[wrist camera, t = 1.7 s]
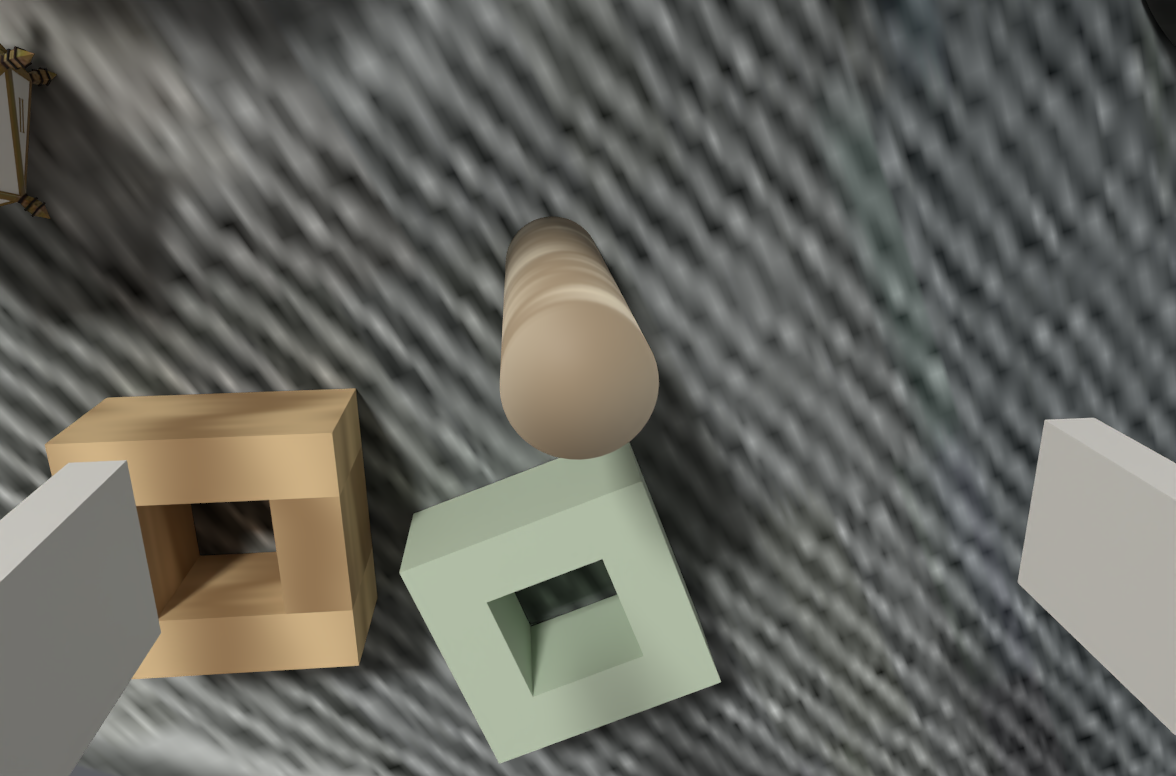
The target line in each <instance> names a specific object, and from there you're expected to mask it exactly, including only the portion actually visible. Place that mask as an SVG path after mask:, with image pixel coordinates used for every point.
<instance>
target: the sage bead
mask: <svg viewBox="0 0 1176 776" xmlns="http://www.w3.org/2000/svg"><path fill="white" fill-rule="evenodd" d="M601 559H603V562H604V564H605V566H606V569H607V571H608V573H609V576H610V578H611V581H612V583H613V585H614V588H615V590H616V592H617V595H614V596H612V597H609V598H606V599H604V600H601V601H598V602H596V603H593V604H590V605H588V606H585V607H582V608H580V609H577V610H574V611H572V612H569V613H566V614H564V615H561V616H558V617H556V618H553V619H550V620H548V621H545V622H542V623H540V624H537V625H534V626H530V624H529V622H528V620H527V618H526V616H525V614H524V611H523V609H522V607H521V605H520V603H519V601H518V599H517V597H516V595H515V593H514V592H516V591H519V590H521V589H524V588H527V587H529V586H532V585H535V584H537V583H540V582H543V581H545V580H548V579H551V578H553V577H556V576H559V575H561V574H564V573H567V572H569V571H572V570H575V569H577V568H580V567H583V566H585V565H588V564H591V563H593V562H596V561H599V560H601ZM399 573H400V575H401V577H402V579H403V581H404V583H405V585H406V587H407V589H408V591H409V592H410V594H411V596H412V598H413V600H414V602H415V604H416V606H417V608H418V610H419V611H420V613H421V615H422V617H423V619H424V621H425V623H426V625H427V627H428V629H429V631H430V632H431V634H432V636H433V638H434V640H435V642H436V644H437V646H438V648H439V650H440V651H441V653H442V655H443V657H444V659H445V661H446V663H447V665H448V667H449V669H450V671H451V672H452V674H453V676H454V678H455V680H456V682H457V684H458V686H459V688H460V690H461V691H462V693H463V695H464V697H465V699H466V701H467V703H468V705H469V707H470V709H471V711H472V712H473V714H474V716H475V718H476V720H477V722H478V724H479V726H480V728H481V730H482V731H483V733H484V735H485V737H486V739H487V741H488V743H489V745H490V747H491V749H492V751H493V752H494V754H495V756H496V758H497V760H498V762H499V764H500V763H502V762H505V761H508V760H511V759H513V758H516V757H519V756H521V755H524V754H527V753H530V752H532V751H535V750H538V749H541V748H543V747H546V746H549V745H551V744H554V743H557V742H560V741H562V740H565V739H568V738H571V737H573V736H576V735H579V734H581V733H584V732H587V731H590V730H592V729H595V728H598V727H600V726H603V725H606V724H609V723H611V722H614V721H617V720H620V719H622V718H625V717H628V716H630V715H633V714H636V713H639V712H641V711H644V710H647V709H650V708H652V707H655V706H658V705H660V704H663V703H666V702H669V701H671V700H674V699H677V698H679V697H682V696H685V695H688V694H690V693H693V692H696V691H699V690H701V689H704V688H707V687H709V686H712V685H715V684H718V683H720V682H721V680H720V677H719V675H718V672H717V669H716V666H715V663H714V660H713V657H712V655H711V652H710V649H709V646H708V643H707V640H706V637H705V635H704V632H703V629H702V626H701V623H700V620H699V617H698V615H697V612H696V610H695V607H694V604H693V602H692V599H691V597H690V594H689V592H688V589H687V587H686V584H685V582H684V579H683V577H682V574H681V571H680V569H679V566H678V564H677V561H676V559H675V556H674V554H673V551H672V549H671V546H670V544H669V541H668V538H667V536H666V533H665V531H664V528H663V526H662V523H661V521H660V518H659V516H658V513H657V511H656V508H655V505H654V503H653V500H652V498H651V495H650V493H649V490H648V488H647V485H646V483H645V480H644V478H643V475H642V472H641V470H640V467H639V465H638V462H637V460H636V457H635V455H634V452H633V450H632V447H631V445H630V442H628V443H627V444H625V445H624V446H622V447H621V448H619V449H617V450H615V451H613V452H611V453H609V454H606V455H603V456H600V457H596V458H591V459H582V460H575V459H564V458H558V459H555V460H553V461H550V462H548V463H545V464H542V465H540V466H537V467H534V468H532V469H529V470H527V471H524V472H521V473H519V474H516V475H514V476H511V477H508V478H506V479H503V480H500V481H498V482H495V483H493V484H490V485H487V486H485V487H482V488H480V489H477V490H474V491H472V492H469V493H466V494H464V495H461V496H459V497H456V498H453V499H451V500H448V501H446V502H443V503H440V504H438V505H435V506H432V507H430V508H427V509H425V510H422V511H419V512H417V513H414V514H413V518H412V522H411V526H410V530H409V534H408V539H407V543H406V547H405V551H404V555H403V559H402V564H401V568H400V572H399Z"/></svg>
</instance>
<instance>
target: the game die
mask: <svg viewBox="0 0 1176 776" xmlns="http://www.w3.org/2000/svg"><path fill="white" fill-rule="evenodd" d="M33 56H34V53H31V52H28V51H26V50H24V49H21V48H19V47H16V46H15V47H14V49H13V50H10V49H7V50H6V49H5V48H4V47H3V46H2V45H1V44H0V206H4V205H8V204H12V203H16V202H18V203H21V204H22V206H23V207H24V208H25V209H24V210H25V211H29V212H30V213H31V214H32V215H31V216H32V217H34V216H38V217H43V218H48V219H50V216H49V214H48V212H47V209H46V207H45V202H44V203H42V202H40V201H39V200H37V199H38V198H37V197H36V198H33V197H30V196H28V195H27V194H26V183H27V165H28V147H29V129H30V110H31V92H32V84H37V85H38V86H41V85H42V84H45V85H46V86H48V85H49V83H50V82H51V80H52V79H53V78H54V77H55V76H56V75H57V74H55V73H52V72H50V71H48V70H47V69H46V68H41V67H40V68H39V69H38V70H37V69H32V71H31V72H29V73H28V72H27V71H26V70H25V69H24V68H26V67H27V66H29V65H31V64H32V63H31V60H32V58H33Z"/></svg>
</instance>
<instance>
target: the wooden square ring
mask: <svg viewBox="0 0 1176 776" xmlns="http://www.w3.org/2000/svg"><path fill="white" fill-rule="evenodd" d="M45 447H46V452H47V456H48V460H49V465H50V469H51V473H52V476H53V475H55V474H56V473H57V472H58V471H59V470H61V469H62V468H63V467H64V466H65V465H66V464H68V463H74V462H97V461H120V460H127V463H128V469H129V474H130V479H131V484H132V489H133V494H134V499H135V504H136V509H137V514H138V519H139V524H140V529H141V534H142V539H143V544H144V549H145V554H146V559H147V564H148V569H149V574H150V579H151V584H152V589H153V594H154V599H155V604H156V609H157V614H158V619H159V624H160V629H161V634H160V635H159V637H158V638H157V640H156V642H155V643H154V645H153V646H152V648H151V649H150V651H149V652H148V654H147V656H146V657H145V659H144V660H143V662H142V663H141V665H140V666H139V668H138V670H137V671H136V673H135V674H134V676H133V677H132V679H143V678H160V677H177V676H193V675H210V674H227V673H244V672H260V671H277V670H294V669H311V668H328V667H344V666H359V664H360V660H361V656H362V653H363V649H364V645H365V641H366V638H367V634H368V630H369V627H370V623H371V619H372V616H373V612H374V608H375V604H376V601H377V588H376V578H375V569H374V559H373V549H372V540H371V530H370V521H369V511H368V501H367V492H366V482H365V473H364V463H363V453H362V444H361V434H360V425H359V415H358V405H357V396H356V388H355V389H328V390H301V391H275V392H248V393H221V394H194V395H167V396H140V397H113V398H106V399H105V400H103V401H102V402H101V403H99V404H98V405H97V406H95V407H94V408H93V409H91V410H90V411H89V412H87V413H86V414H85V415H83V416H82V417H81V418H79V419H78V420H77V421H75V422H74V423H73V424H71V425H70V426H69V427H67V428H66V429H65V430H63V431H62V432H61V433H59V434H58V435H57V436H55V437H54V438H53V439H51V440H50V441H49V442H47V443H46V444H45ZM256 500H269V502H270V509H271V516H272V523H273V530H274V537H275V544H276V551H277V552H265V553H245V554H225V555H205V556H200V554H199V548H198V543H197V537H196V531H195V526H194V520H193V514H192V509H191V503H213V502H235V501H256Z"/></svg>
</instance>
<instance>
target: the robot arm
mask: <svg viewBox="0 0 1176 776" xmlns="http://www.w3.org/2000/svg"><path fill="white" fill-rule="evenodd" d="M1146 2H1147V4H1148V6H1149V8H1150V10H1151V12H1152V14H1153V16H1154V18H1155V19H1156V21H1157V23H1158V25H1159V26H1160V28H1161V29H1162V30H1163V32H1164V33H1165V35H1166V36H1167V38H1168V39H1169V40H1170V41H1171V42H1172V43H1173V45H1174V46H1175V47H1176V0H1146ZM1018 583H1019V584H1020V585H1021V586H1022V587H1023V588H1024V589H1025V590H1026V591H1027V592H1028V593H1029V594H1030V595H1031V596H1032V597H1033V598H1034V599H1035V600H1036V601H1037V602H1038V603H1039V604H1040V605H1041V606H1042V607H1043V608H1044V609H1045V610H1046V611H1047V612H1049V613H1050V614H1051V615H1052V616H1053V617H1054V618H1055V619H1056V620H1057V621H1058V622H1059V623H1060V624H1061V625H1062V626H1063V627H1064V628H1065V629H1066V630H1067V631H1068V632H1069V633H1070V634H1071V635H1072V636H1073V637H1074V638H1075V639H1076V640H1077V641H1078V642H1080V643H1081V644H1082V645H1083V646H1084V647H1085V648H1086V649H1087V650H1088V651H1089V652H1090V653H1091V654H1092V655H1093V656H1094V657H1095V658H1096V659H1097V660H1098V661H1099V662H1100V663H1101V664H1102V665H1103V666H1104V667H1105V668H1106V669H1107V670H1108V671H1110V672H1111V673H1112V674H1113V675H1114V676H1115V677H1116V678H1117V679H1118V680H1119V681H1120V682H1121V683H1122V684H1123V685H1124V686H1125V687H1126V688H1127V689H1128V690H1129V691H1130V692H1131V693H1132V694H1133V695H1134V696H1135V697H1136V698H1137V699H1138V700H1139V701H1141V702H1142V703H1143V704H1144V705H1145V706H1146V707H1147V708H1148V709H1149V710H1150V711H1151V712H1152V713H1153V714H1154V715H1155V716H1156V717H1157V718H1158V719H1159V720H1160V721H1161V722H1162V723H1163V724H1164V725H1165V726H1166V727H1167V728H1168V729H1169V730H1170V731H1172V732H1173V733H1174V734H1175V735H1176V463H1174V462H1172V461H1171V460H1169V459H1167V458H1165V457H1163V456H1162V455H1160V454H1158V453H1156V452H1154V451H1153V450H1151V449H1149V448H1147V447H1145V446H1144V445H1142V444H1140V443H1138V442H1137V441H1135V440H1133V439H1131V438H1129V437H1128V436H1126V435H1124V434H1122V433H1120V432H1119V431H1117V430H1115V429H1113V428H1111V427H1110V426H1108V425H1106V424H1104V423H1103V422H1101V421H1099V420H1097V419H1095V418H1077V419H1054V420H1045V422H1044V428H1043V434H1042V440H1041V446H1040V452H1039V458H1038V464H1037V470H1036V476H1035V482H1034V488H1033V494H1032V500H1031V505H1030V511H1029V517H1028V523H1027V529H1026V535H1025V541H1024V547H1023V553H1022V559H1021V565H1020V571H1019V577H1018ZM160 634H161V629H160V624H159V619H158V614H157V609H156V604H155V599H154V594H153V589H152V584H151V579H150V574H149V569H148V564H147V559H146V554H145V549H144V544H143V539H142V534H141V529H140V524H139V519H138V514H137V509H136V504H135V499H134V494H133V489H132V484H131V479H130V474H129V469H128V463H127V460H120V461H97V462H74V463H68V464H66V465H65V466H64V467H63V468H62V469H61V470H59V471H58V472H57V473H56V474H55V475H53V476H52V477H51V478H50V479H49V480H47V481H46V482H45V483H44V484H43V485H41V486H40V487H39V488H38V489H37V490H36V491H34V492H33V493H32V494H31V495H30V496H28V497H27V498H26V499H25V500H24V501H22V502H21V503H20V504H19V505H18V506H17V507H15V508H14V509H13V510H12V511H11V512H9V513H8V514H7V515H6V516H5V517H3V518H2V519H1V520H0V776H69V775H70V773H71V772H72V770H73V769H74V767H75V766H76V764H77V763H78V761H79V760H80V758H81V756H82V755H83V753H84V752H85V750H86V749H87V747H88V746H89V744H90V742H91V741H92V739H93V738H94V736H95V735H96V733H97V732H98V730H99V728H100V727H101V725H102V724H103V722H104V721H105V719H106V718H107V716H108V715H109V713H110V711H111V710H112V708H113V707H114V705H115V704H116V702H117V701H118V699H119V697H120V696H121V694H122V693H123V691H124V690H125V688H126V687H127V685H128V683H129V682H130V680H131V679H132V677H133V676H134V674H135V673H136V671H137V670H138V668H139V666H140V665H141V663H142V662H143V660H144V659H145V657H146V656H147V654H148V652H149V651H150V649H151V648H152V646H153V645H154V643H155V642H156V640H157V638H158V637H159V635H160Z"/></svg>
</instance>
